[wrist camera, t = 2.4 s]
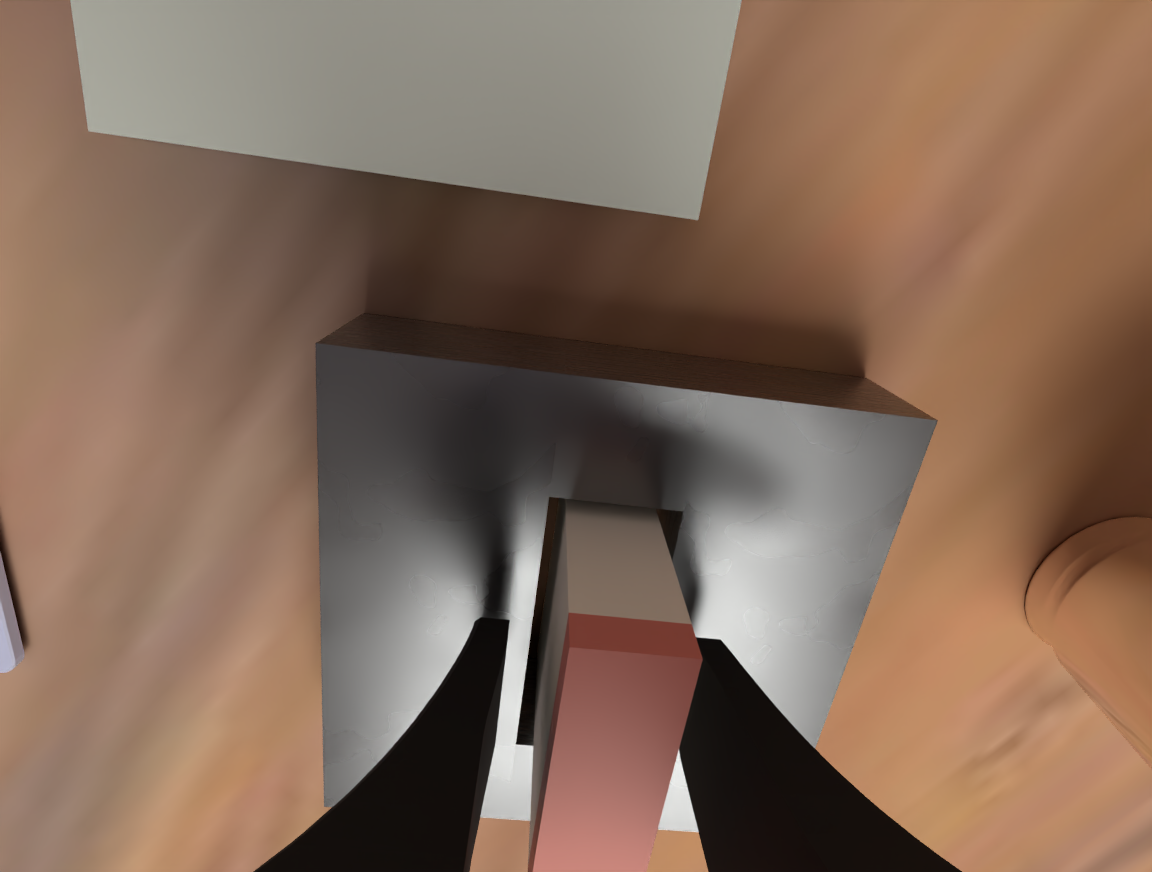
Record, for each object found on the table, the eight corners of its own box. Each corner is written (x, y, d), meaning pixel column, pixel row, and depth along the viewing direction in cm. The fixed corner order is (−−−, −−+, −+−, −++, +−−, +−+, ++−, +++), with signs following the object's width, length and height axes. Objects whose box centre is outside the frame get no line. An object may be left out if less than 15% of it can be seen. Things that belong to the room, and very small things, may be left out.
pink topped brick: (537, 646, 18) (526, 911, 11) (564, 456, 15) (569, 646, 9) (606, 652, 18) (634, 917, 11) (642, 465, 16) (702, 659, 9)
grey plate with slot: (359, 713, 18) (324, 806, 16) (364, 313, 14) (315, 343, 11) (748, 744, 19) (781, 837, 16) (866, 377, 15) (937, 420, 12)
